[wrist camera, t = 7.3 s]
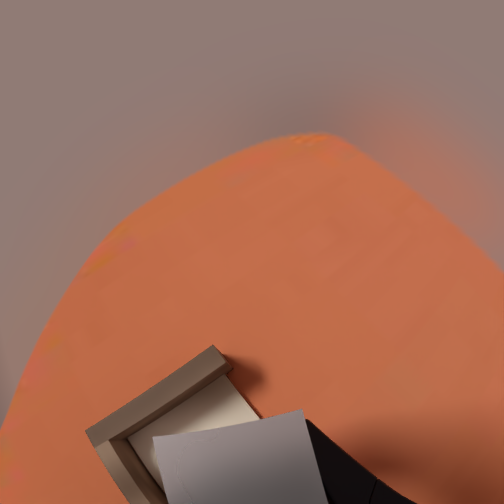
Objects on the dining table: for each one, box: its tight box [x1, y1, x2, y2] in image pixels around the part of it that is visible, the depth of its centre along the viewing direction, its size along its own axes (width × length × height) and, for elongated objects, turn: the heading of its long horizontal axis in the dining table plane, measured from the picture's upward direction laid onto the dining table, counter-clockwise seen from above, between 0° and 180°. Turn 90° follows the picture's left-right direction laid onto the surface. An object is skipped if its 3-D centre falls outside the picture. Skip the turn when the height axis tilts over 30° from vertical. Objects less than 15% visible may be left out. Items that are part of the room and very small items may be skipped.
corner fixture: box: [85, 345, 260, 504], centre depth 17 cm, size 14×12×3 cm
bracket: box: [152, 409, 328, 504], centre depth 8 cm, size 4×6×12 cm, turn 103°
